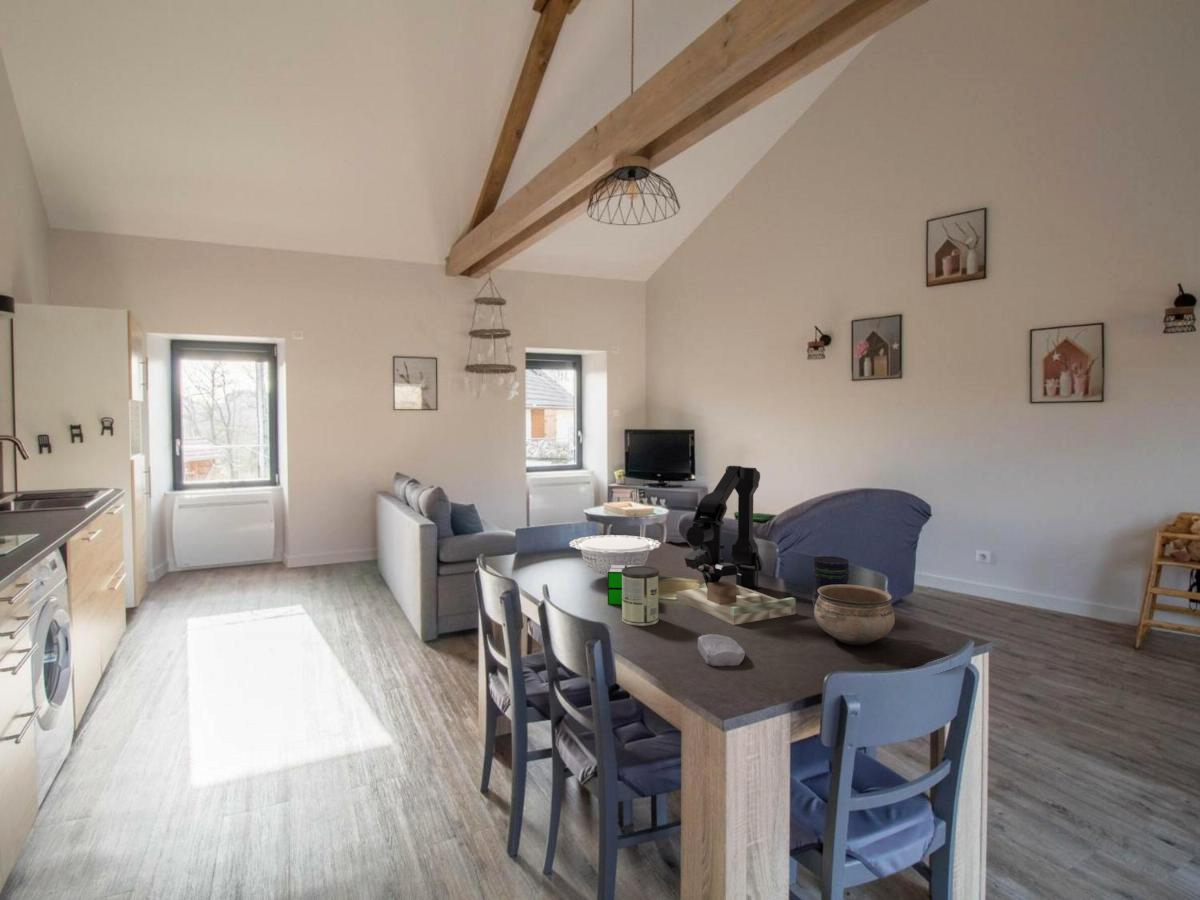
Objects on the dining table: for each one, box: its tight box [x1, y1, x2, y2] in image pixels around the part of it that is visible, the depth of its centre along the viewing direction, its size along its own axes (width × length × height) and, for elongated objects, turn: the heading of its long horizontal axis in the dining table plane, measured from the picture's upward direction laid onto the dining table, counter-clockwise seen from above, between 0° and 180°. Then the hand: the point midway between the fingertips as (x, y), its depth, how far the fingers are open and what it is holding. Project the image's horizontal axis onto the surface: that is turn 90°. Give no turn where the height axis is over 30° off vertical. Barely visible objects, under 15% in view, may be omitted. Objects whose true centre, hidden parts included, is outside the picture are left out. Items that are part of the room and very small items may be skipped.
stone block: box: [697, 633, 746, 667], centre depth 157 cm, size 12×5×10 cm
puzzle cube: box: [607, 564, 638, 606], centre depth 205 cm, size 10×10×10 cm
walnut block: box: [706, 580, 737, 605], centre depth 196 cm, size 6×6×5 cm
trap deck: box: [675, 583, 797, 626], centre depth 199 cm, size 22×28×4 cm
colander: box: [568, 534, 662, 577], centre depth 232 cm, size 32×32×13 cm
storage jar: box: [812, 555, 850, 612], centre depth 195 cm, size 10×10×15 cm
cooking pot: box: [813, 584, 896, 646], centre depth 168 cm, size 25×19×12 cm
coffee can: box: [621, 565, 660, 627], centre depth 185 cm, size 10×10×14 cm
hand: (710, 593), depth 200 cm, fingers closed
